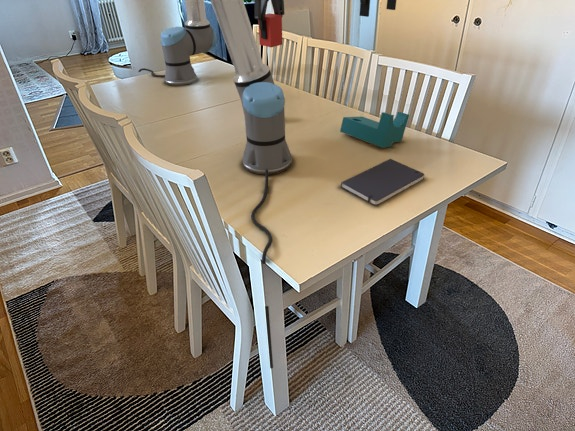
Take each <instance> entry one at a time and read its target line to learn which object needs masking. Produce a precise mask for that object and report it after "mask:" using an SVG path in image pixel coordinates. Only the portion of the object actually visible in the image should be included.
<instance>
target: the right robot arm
mask: <svg viewBox="0 0 575 431" xmlns="http://www.w3.org/2000/svg"><path fill="white" fill-rule="evenodd" d="M209 1H210V4H211V6H212V9H213V12H214V15H215V18H216V21H217V24H218V27H219V28H220V32H221V34H222V38H223V40H224V43H225V45H226V46H225V47H226V49H227V52H228V55H229V57H230V60H231V63H232V65H233V68H234V70H235V75H234V76H233V82H234V85H235V89H236V91H237V93H238V96H239V99H240V102H241V106H242V110H243V115H244V124H245V136H246V137H245V138H246V143H245V146H244V151H243V155H242V166H243V168H244V170H246V171H247V172H249V173H252V174H254V175H255V174H256V175H262V176H265V177H264V191H263V195H262V198H261V200H260V201H259V203H258V204H257V205H256V206H255V207H254V208H253V210H252V212H251V215H250V218H251V221H252V223H253V224H254V225H255V226H256V227H257V228H259V229H260V230H261V231H263V232H264V233H265V234H266V235H267V238H268V242H267V243H266V245H265V246H264V248H263V251H262V256H261V264H262V265H265V264H266V262H267V261H266V260H267V255H268V254H267V253H268V251H269V250H270V247H271V245H272V243H273V236H272V234H271V232H270V231H269V230H268V229H267V228H266V227H265V226H263V225H262V224H260V223H259V222H258V221H257V220H256V218H255V216H256V212H257V211H258V210H259V209H260V208H261V207H262V205H263V204H264V203H265V201H266V198H267V194H268V190H269V189H268V188H269V175H277V174H280V173H283V172H286V171H287V170H289V169H290V167H291V166H292V163H293V157H292V153H291V150H290V148H289V145H288V143H287V140H286V118H285V117H286V115H285V114H286V112H285V104H286V99H285V94H284V90H283V88H282V87H281V86H280V85H278V84H276V83H275V81H274V78H273V74H272V72H271V68H270V66H268V65H266V64H265V63H264V62H263V60H262V56H261V52H260V50H259V46H258V43H257V40H256V37H255V34H254V31H253V27H252V25H251V24H252V23H251V21H250V17H249V15H248V11H247V7H246V6H245V5H246V4H245V2H244V0H209ZM370 8H371V0H359V16H360V17H366V18H369V17H370ZM385 9H386V10H390V11H396V9H397V0H387V1H386V8H385ZM264 309H265V310H264V311H265V325H266V334H267V344H268V345H267V347H268V357H269V358H268V359H269V368H270V369H273V368H274V361H273V346H272V335H271V334H272V333H271V322H270V307H269V305H266V306H264Z"/></svg>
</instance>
